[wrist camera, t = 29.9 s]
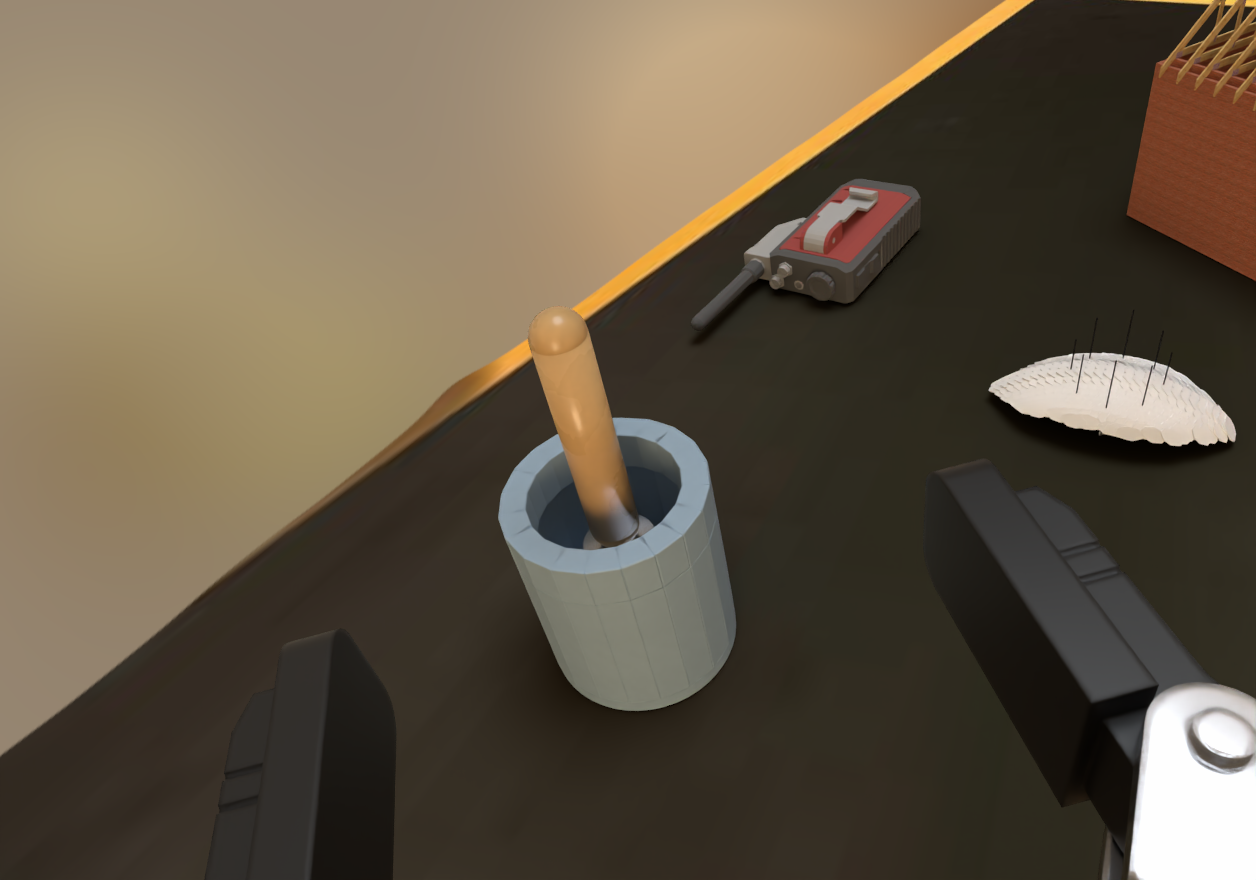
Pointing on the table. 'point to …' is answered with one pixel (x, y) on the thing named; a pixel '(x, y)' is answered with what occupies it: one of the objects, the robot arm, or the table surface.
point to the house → (1203, 145)
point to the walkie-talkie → (829, 246)
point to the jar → (626, 571)
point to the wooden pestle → (585, 427)
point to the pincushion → (1117, 398)
